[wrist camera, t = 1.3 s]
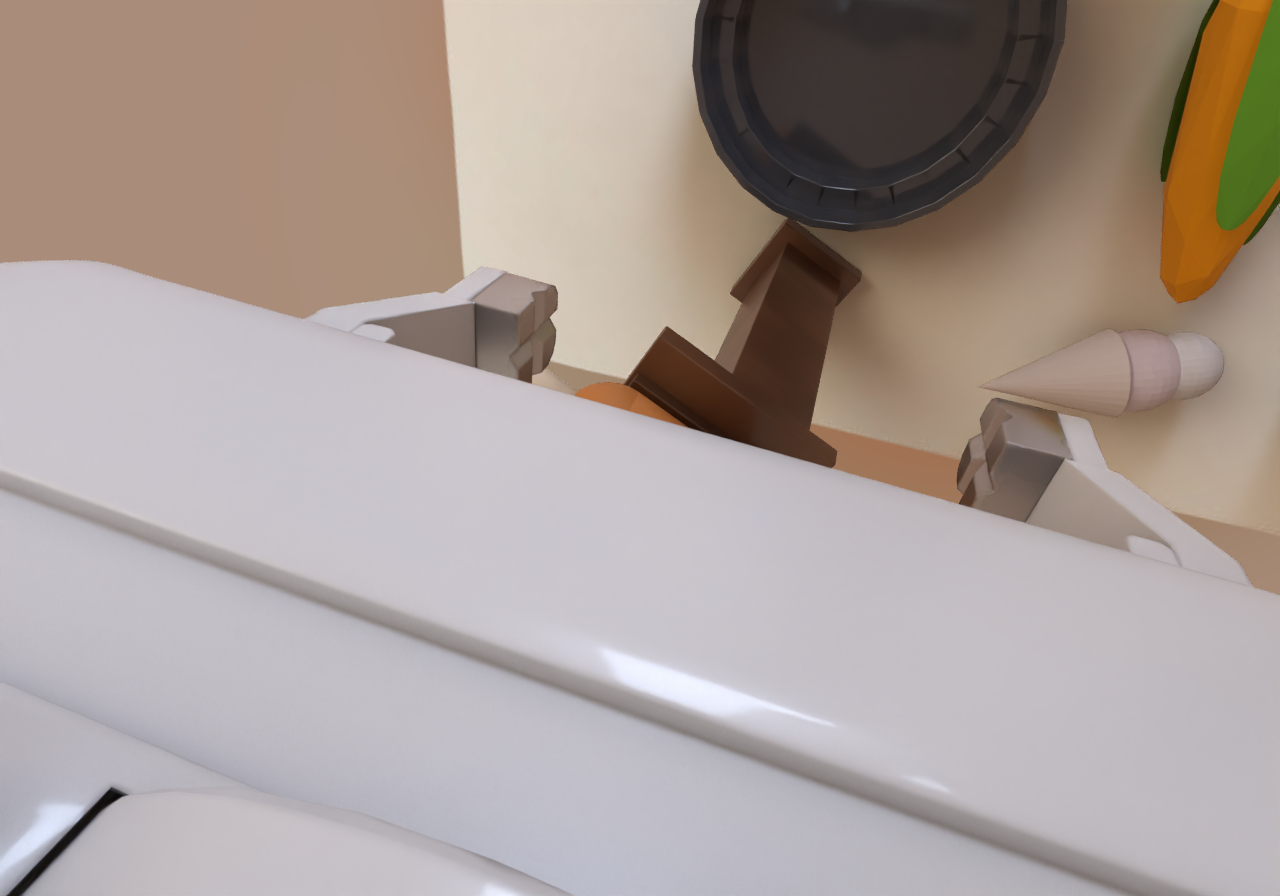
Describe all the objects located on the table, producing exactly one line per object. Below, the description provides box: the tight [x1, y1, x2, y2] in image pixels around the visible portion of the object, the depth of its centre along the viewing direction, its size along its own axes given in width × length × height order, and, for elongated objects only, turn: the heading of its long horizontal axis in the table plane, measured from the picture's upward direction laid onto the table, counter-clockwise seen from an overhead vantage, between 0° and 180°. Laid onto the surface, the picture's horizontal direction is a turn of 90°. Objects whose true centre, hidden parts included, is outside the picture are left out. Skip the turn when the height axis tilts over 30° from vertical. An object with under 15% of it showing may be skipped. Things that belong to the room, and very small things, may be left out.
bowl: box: [692, 0, 1067, 231], centre depth 42 cm, size 20×20×6 cm
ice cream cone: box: [978, 329, 1224, 417], centre depth 49 cm, size 6×6×15 cm
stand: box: [623, 217, 861, 468], centre depth 44 cm, size 10×8×27 cm
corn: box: [1160, 0, 1280, 303], centre depth 39 cm, size 7×8×20 cm
